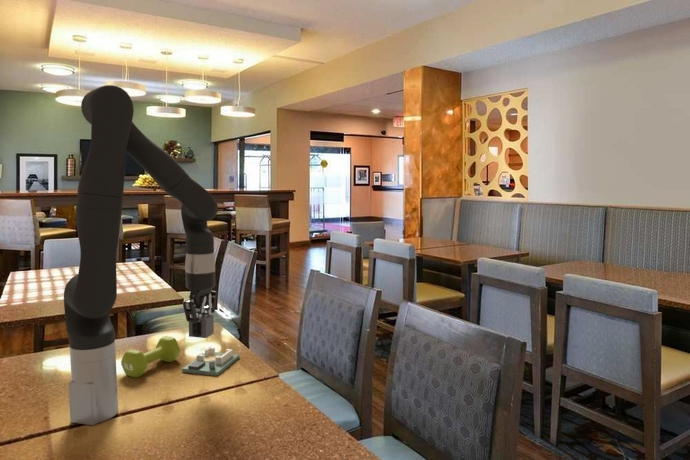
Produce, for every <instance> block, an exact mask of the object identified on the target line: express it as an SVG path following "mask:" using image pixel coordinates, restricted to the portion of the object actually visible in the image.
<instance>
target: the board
mask: <svg viewBox="0 0 690 460" xmlns="http://www.w3.org/2000/svg"><path fill="white" fill-rule="evenodd" d="M215 348H216V347H211V346H210V347H207V348H206V349H204V352H199V353H198V354H196V359H194V360H192V361H191V362H189V363H188V364H187V365H185V366H183V367H182V368H181V372H182V373H188V374H198V375H206V376H207V375H208V376H216V377H217V376H218V377H219V375H220V374H222V373H223V372H224V371H225V370H226V369H228V368H229V367H230V366H231V365H233V364H234V363H235V362H236V361H237V360H239V359H240V356H241V355H240V354H237V353H234V349H232V348H231V349H230V348H226V349H225V352H216V349H215Z"/></svg>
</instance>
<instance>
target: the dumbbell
mask: <svg viewBox="0 0 690 460" xmlns="http://www.w3.org/2000/svg"><path fill="white" fill-rule="evenodd" d="M180 352H181V348H180V345H179V343H178V341H177V339H176V338H175V337H172V336H168V335H167V336H162V337H161V338H160V339H159V340H158V342H157V344H156V347H155V348H154V349H151V350H148V351H147V352H144V353H143V352H142V351H141V350H138V349H129V350H127V351H125V352H124V354H123V355H122V359H121V361H120V364H121V368H122V370H123V372H124V374H125V375H126V376H127V377H130V378H139V377H142V376H143V375H144V373H145V372H146V370H147V367H148V364H150V363H152V362H154V361H157V360H159V359H160V360H161V361H163V362H167V363H171V362H175V361H176V360H177V359H178V357H179V355H180Z"/></svg>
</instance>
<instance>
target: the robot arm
mask: <svg viewBox="0 0 690 460" xmlns="http://www.w3.org/2000/svg"><path fill="white" fill-rule="evenodd" d="M80 104H81V105H80V107H81V113H82V116H83V117H84V119H85V120H86V122H87V123H89V124H90V126H91V128H90V129H91V133H90V134H91V135H90V136H91V137H90V144H89V145H90V146H89V151H88V154H87V158H86V161H85V163H84V165H83V168H82V171H81V174H80V178H79V180H78V185H77V194H76V205H75V206H76V207H75V223H76V230H77V235H78V236H77V237H78V242H79V249H80V257H79V266H78V272H77V273H78V274H75V275H74V276H73V277H71V278H70V279H69V280H68V281H67V283H66V285H65V287H64V290H63V309H64V319H65V329H66V334H67V336H68V337H67V338H68V343H69V345H68V346H69V356H70V357H69V358H70V359H69V360H70V374H71V375H70V376H71V380H70V381H68V384H67V387H68V399H69V400H68V403H69V405H68V406H69V418H70V423H74V424H80V425H81V424H82V425H88V426H95V425H97V424H99V423H101V422H105V421H107V420H110V419H112V418H113V417H115V416H116V415H117V414H118V413H119V400H118V399H119V398H118V379H117V378H118V376H117V358H116V357H117V356H116V355H117V354H116V341H115V340H116V335H115V329H114V326H113V324H112V321H111V317H110V311H111V310H112V309H113V307H114V305H115V303H116V301H117V297H118V283H117V282H118V281H117V280H118V279H117V257H118V255H117V252H118V246H119V240H120V239H119V238H120V230H121V221H122V215H123V214H122V213H123V205H124V191H125V190H124V185H125V178H126V176H125V175H126V155H127V154H128V155H129V156H130V157H131V158H132V159H133V160H134V162H136V163H137V164H138V165H139V166H140V167H141V168H142V169H143V170H144V171H145V172H146V173H147V174H148V175H149V177H150V178H151V179H152V180H153V181H154V182H155V183H156V184H157V185H158V186H159V188H161V189H162V190H163V191H164V192H165V193H166V194H167V195H168V196H170V197H171V198H173V199H176V200H178V201H179V202H180V203H181V207H180V215H181V220H182V226H183V229H184V230H183V231H184V233H185V259H184V260H185V261H184V263H185V264H184V267H185V271H184V272H185V288H186V289H188V290H189V291H190V292H189V297H188V298H189V299H188V300H184V301H183V302H182V306H183V311H184V315H185V320H186V322H188V323H189V322H192V335H193V336H198V337H197V338H199V336H201V317H202V315H212V314H214V313H215V312H216V306H217V305H216V304H217V298H218V291H216V290H212V289H213V288H215V286H216V257H215V240H214V239H215V237H214V234H213V232H212V231H211V230H210V229H209V225H208V222H209V221H211V220H213V219H215V218H216V216H217V214H218V212H219V207H218V203H217V201H216V199H215V198H214V196H213V195H212V193H210V192H209V191H208V190H207V189H205V188H204V187H203V186H202V185H200V184H199V183H198V182H197V181H196V180H194V179H193V178H192V177H190V175H189V174H188V172H187V171H185V169H184V168H183V167H182V166H181V165H180V164H179V163H178V162H177V160H175V159H174V158H173V156H171V155H170V154H169V153H168V152H167V151H166V150H164V148H161V147H160V146H159V145H158V144H156V143H155V142H154V141H152V139H150V138H149V137H147V136H146V135H145V134H144V133H143V132H142V131H141V129H139V128H138V127H137V125H135V122H134V121H133V120H134V119H133V118H134V108H135V107H134V104H133V99H132V98H131V96H130V95H129V94H128V92H127V91H126V90H125V89H124V88H122V87H120V86H118V85H115V84H105V85H102V86H99V87H97V88H95V89H92V90H90V91H89V92H87V93H86V94H85V95H84V96H83V98H82V100H81V103H80ZM197 314H198V318H197Z"/></svg>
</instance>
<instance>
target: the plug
mask: <svg viewBox="0 0 690 460" xmlns="http://www.w3.org/2000/svg"><path fill="white" fill-rule="evenodd" d="M196 314H197V318H198V313H196ZM214 319H215V318H214V315H202V317H201V336H199V337H198V336H193V335H192V322H188V337H189V338H190V337H191V338H198V339H199V338H200V339H201V338H203V339H207V338H209V337H210V336H212V335H214V333H215V330H214V328H215V324H214V321H215V320H214Z"/></svg>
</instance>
